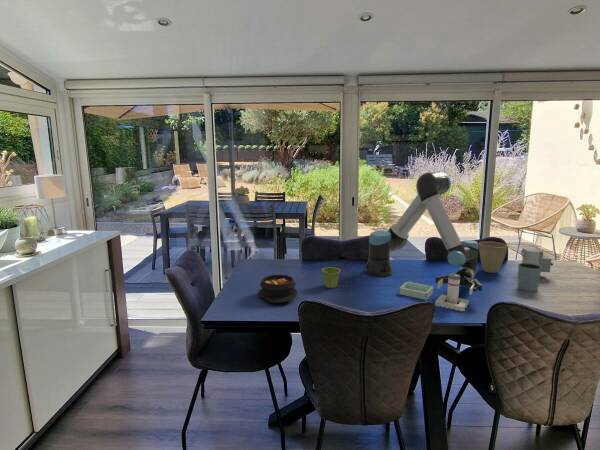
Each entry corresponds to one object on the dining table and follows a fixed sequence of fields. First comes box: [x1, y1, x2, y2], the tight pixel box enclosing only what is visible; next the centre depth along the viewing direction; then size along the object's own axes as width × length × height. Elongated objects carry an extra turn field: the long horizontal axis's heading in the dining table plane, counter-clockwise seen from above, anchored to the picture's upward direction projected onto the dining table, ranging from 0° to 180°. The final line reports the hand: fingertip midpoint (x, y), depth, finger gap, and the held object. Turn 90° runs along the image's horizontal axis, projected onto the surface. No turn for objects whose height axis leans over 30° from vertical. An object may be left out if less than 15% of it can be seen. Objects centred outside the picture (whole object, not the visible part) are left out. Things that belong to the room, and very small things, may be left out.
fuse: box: [446, 273, 460, 304], centre depth 174 cm, size 5×5×14 cm
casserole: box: [258, 274, 299, 304], centre depth 185 cm, size 25×19×8 cm
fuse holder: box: [434, 294, 470, 312], centre depth 175 cm, size 12×10×2 cm
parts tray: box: [398, 281, 434, 301], centre depth 189 cm, size 13×11×3 cm
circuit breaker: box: [520, 247, 554, 279], centre depth 215 cm, size 8×14×15 cm, turn 78°
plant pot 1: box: [321, 266, 341, 289], centre depth 198 cm, size 9×9×9 cm
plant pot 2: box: [478, 240, 509, 274], centre depth 224 cm, size 15×15×16 cm
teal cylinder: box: [517, 262, 542, 292], centre depth 196 cm, size 10×10×12 cm
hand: (454, 288), depth 173 cm, fingers open, 13 cm apart
